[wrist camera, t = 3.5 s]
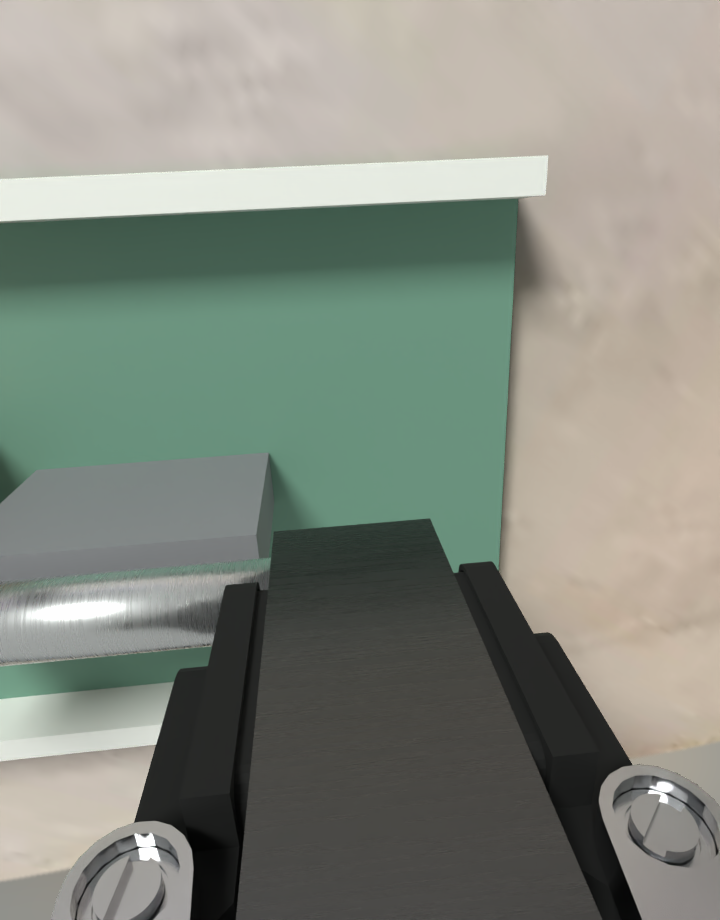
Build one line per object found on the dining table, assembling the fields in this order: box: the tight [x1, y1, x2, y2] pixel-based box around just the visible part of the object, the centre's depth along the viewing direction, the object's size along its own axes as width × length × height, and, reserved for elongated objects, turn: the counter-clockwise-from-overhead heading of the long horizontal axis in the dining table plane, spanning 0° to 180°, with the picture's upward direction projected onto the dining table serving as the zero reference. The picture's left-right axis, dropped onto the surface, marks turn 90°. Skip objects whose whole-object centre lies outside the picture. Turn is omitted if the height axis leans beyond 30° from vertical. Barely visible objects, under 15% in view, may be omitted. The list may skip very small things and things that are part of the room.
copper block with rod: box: [0, 518, 602, 920], centre depth 11 cm, size 13×5×12 cm, turn 93°
